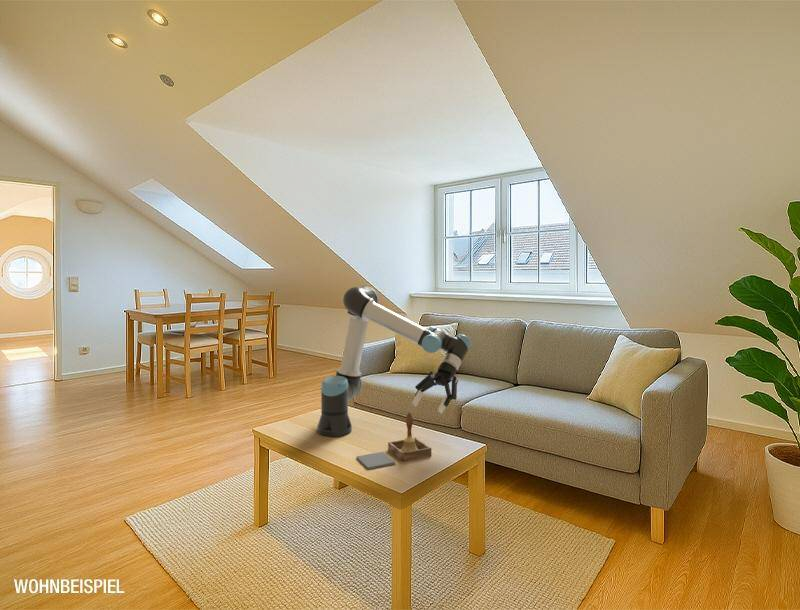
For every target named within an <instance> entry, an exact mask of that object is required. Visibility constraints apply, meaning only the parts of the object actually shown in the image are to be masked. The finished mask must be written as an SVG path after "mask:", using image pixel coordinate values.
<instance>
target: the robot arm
mask: <svg viewBox="0 0 800 610" xmlns="http://www.w3.org/2000/svg"><path fill="white" fill-rule="evenodd" d="M342 302H343V306H344V308H345V309H346V311H347V315H348V316H349V319H348V320H349V321H348V326H347V333H346V337H345V338H346V339H345V343H344V348H343V353H342V354H343V355H342V359H341V363H340V367H338V368H337V370H336V373H335V375H332V376H328V377H326V378H324V379H322V382H321V387H320V393H321V395H320V396H321V399H320V401H321V402H320V403H321V408H320V411H321V413H320V418H319V419H318V420H319V421H318V424H317V427H316V429H317V434H319V435H321V436H324V437H342V436H346V435H348V434H350V433H351V432H352V431H353V429H352V427H353V424H352V422H351V419H350V416H349V401H351V399H353V398H355V397H357V396H358V394H359V393H360V392H361V390H362V387H363V383H362V382H363V381H362V378H361V377H362V372H361V371H360V368H361V367H360V366H361V361H362V355H363V351H364V344H365V341H366V340H365V339H366V335H367V329H368V325H369V321H371V322H374V323H375V324H378V325H379V326H381V327H383V328H385V329H387V330H389V331H390V332H392V333H395V334H397V335H398V336H401V337H402V338H405V339H406V340H409V341H410V342H412V343H414V344H416V345H418V346H420V347H422V349H423V350H424V351H425V352H426V353H428V354H434V353H436V352H438V351H439V350H442V351H444V352H446V353H445V355H444V358H443V359H442V360H441V363H440V364H439V366H438V368H437V372H436V373H434V372H433V371H430V372H429V373H428V375H426V377H424V378H422V380H421V381H420V382H418V383H417V384H416V385H415V387H414V388H415V389H416V390H417V391H416V392H415V395H414V398H413V399H412V402H411V404H412V406H414V408H415V407H417V406H418V404H419V402H420V400H421V399H422V397H423V395H424V392H426V391H427V390H429V389H430V388H431V389H432V388H433V387H434V386H435V387H436V386H441V387H444V389H445V395H446V396H444V397H443V399H442V401H441V403H440V405H439V406H438V408H437V411H438V413H440V414H441V415H442V414H443V413H444V411H445V409H446V408H447V407H448V406H449V404H450V402H451V401H452V400H453V401H456V400H457V398H458V397H457V392H458V389H457V388H458V387H457V386H458V382H459V379H458V378H457V376H455V375H456V373H457V372H458V371H459V368H460V367H461V365H462V363H463V361H464V359H465V357H466V355H467V353H468V351H469V349H470V347H471V345H472V341H471V338H469V336H467V335H465V334H462V333H458V334H457V335H456V336H454V335H451V334H450V333H448V332H446V331H444V330H442V329H440V328H439V327H435V326H433V325H431V326H429V328H428V329H427V328H425V327H424V326H421V325H419V324H418V323H416V322H413V321H412V320H410V319H408V318H406V317H404V316H402V315H401V314H398V313H396V312H394V311H393V310H390V309H389V308H386V307H385V306H382V305H381V304H379V296H378V293H377V291H376V290H375V289H374V288H373V287H370V286H366V285H361V286H355V287H350V288H349V289H348V290H347V291H346V292H344V294H343V298H342ZM450 383H451V389H450Z"/></svg>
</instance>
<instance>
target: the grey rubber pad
mask: <svg viewBox="0 0 800 610" xmlns="http://www.w3.org/2000/svg"><path fill="white" fill-rule="evenodd" d="M356 459H357V461H358V462H359V463H361V464H362V466H364V468H365V469H367V470H368V469H369V470H372V469H374V470H375V469H378V468H382V467H383V468H384V467H388V466H393V465H396V461H395V460H393V459H392V458H391V457H390V456H388V455H387V454H386V453H385V452H384V451H380V452H374V453H373V452H372V453H368V454H363V455H356Z"/></svg>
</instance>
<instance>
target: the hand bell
mask: <svg viewBox="0 0 800 610" xmlns="http://www.w3.org/2000/svg"><path fill="white" fill-rule="evenodd" d="M405 418H406V419H405V424H406V428H407V432H406V436H407V437H405V438H404V439H403V440H404V443H403V447H402V448H399V449H400V450H401V451H402V452H409V451H414V450H419V448H418V447H416V443H415V439H414V438H415V437H412V428H413V422H414V420H413V416H412V413H411V412H408V413H407V416H406V417H405Z"/></svg>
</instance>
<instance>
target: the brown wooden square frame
mask: <svg viewBox="0 0 800 610" xmlns="http://www.w3.org/2000/svg"><path fill="white" fill-rule="evenodd" d="M413 438H414V439H415V443H416V446H417V449H418V450H414V451H409V452H402V451H401V450H400V449H401V448H402V447H403V443H404V439H401V440H393V441H389V442H388V444H387V446H388V447H387V450H388V451H389V452H390V453H392V454H393V455H394V456H395V457H397V458H398V459H399V460H400V461H401V462H406V461H412V460H416V459H420V458H421V459H422V458H426V457H427V458H428V457H431V456H432V447H430V446H429V445H428V444H426V443H425V442H423V441H422V440H420V439H419V438H418V437H413ZM398 448H399V449H398Z"/></svg>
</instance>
